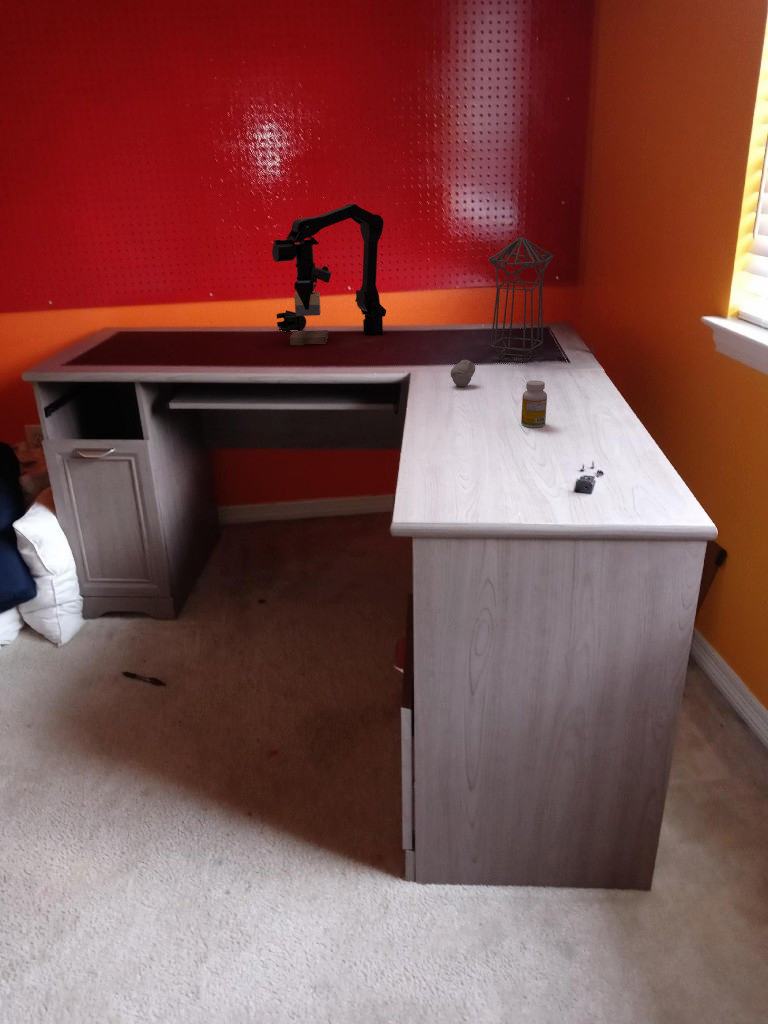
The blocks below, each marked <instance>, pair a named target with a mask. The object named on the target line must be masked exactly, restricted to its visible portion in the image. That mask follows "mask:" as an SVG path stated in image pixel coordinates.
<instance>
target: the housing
mask: <svg viewBox="0 0 768 1024" xmlns="http://www.w3.org/2000/svg"><path fill="white" fill-rule="evenodd" d="M293 295H294V309H295V313H296V316H305V317H306V316H307V317H308V316H310V317H311V316H314V317H315V316H321V311H322V310H321V298H320V295H321V294H320V291H313V292H312V293H311V295H310V304H309V310H306V309H305V307H304V305H303V303H302V301H301V299H300V297H299V295H298V293H297V291H295V292H294V294H293Z"/></svg>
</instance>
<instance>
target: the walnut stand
mask: <svg viewBox="0 0 768 1024" xmlns="http://www.w3.org/2000/svg"><path fill="white" fill-rule="evenodd" d="M327 339H329V330H328V329H326V330H321V329H320V330H302V331H293V332H292V334H290V336H289V346H305V345H304V344H326V345H327V343H326V342H328V340H327Z"/></svg>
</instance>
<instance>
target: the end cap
mask: <svg viewBox="0 0 768 1024" xmlns="http://www.w3.org/2000/svg"><path fill="white" fill-rule="evenodd" d="M276 319H277V320H278V319H283V321H282V320H281V321H277V322H276V325H277V328H278V329H279V330H282V331H286V332H291V331H290V330H298V331H301V330H302V331H304V329H305V328H306V326H307V319H306V316H296V313H295V312H294V311H291V310H285V312H279V313H276Z"/></svg>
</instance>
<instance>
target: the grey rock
mask: <svg viewBox="0 0 768 1024" xmlns="http://www.w3.org/2000/svg"><path fill="white" fill-rule="evenodd" d="M475 372H476V365H475V363H474V362H472V361H470V360H468V359H462V360H460V361H459V362H458V363H456V364H455V365H454V366H453V367H452V368H451V370H450V377H451V379H452V382H453V383H454V385H455V386H457V387H462V388H463V387H464V388H465V387H466V386H468V385H469V384H470V382H471V381H472V377H474V374H475Z"/></svg>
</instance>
